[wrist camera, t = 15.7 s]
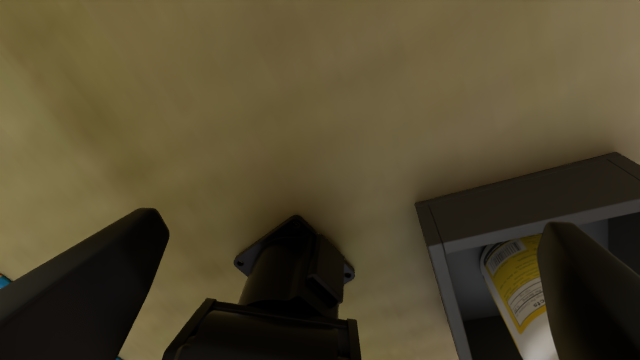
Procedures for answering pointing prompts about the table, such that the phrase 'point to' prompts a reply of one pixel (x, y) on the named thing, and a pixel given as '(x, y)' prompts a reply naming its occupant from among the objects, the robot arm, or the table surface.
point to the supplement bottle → (520, 294)
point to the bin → (520, 221)
